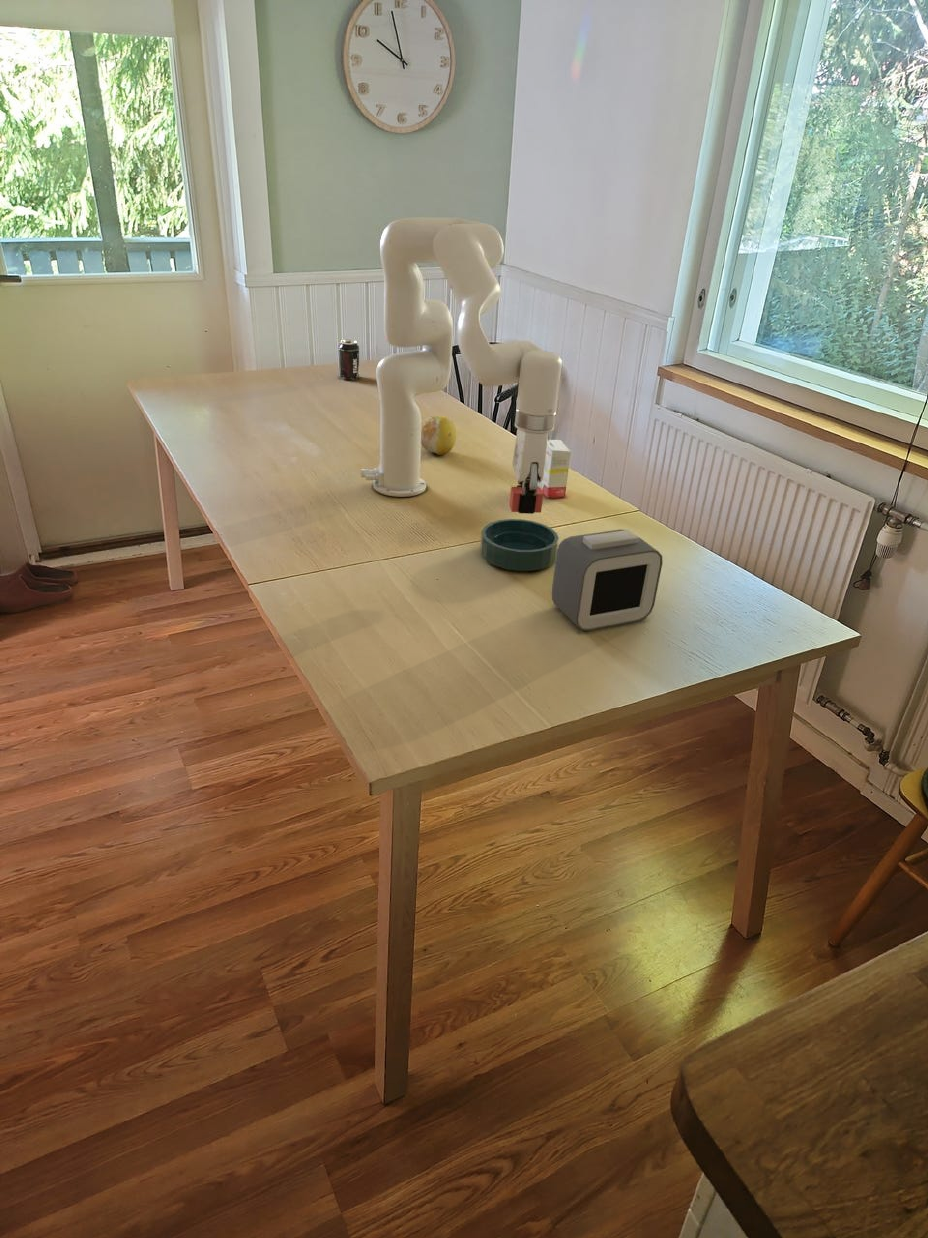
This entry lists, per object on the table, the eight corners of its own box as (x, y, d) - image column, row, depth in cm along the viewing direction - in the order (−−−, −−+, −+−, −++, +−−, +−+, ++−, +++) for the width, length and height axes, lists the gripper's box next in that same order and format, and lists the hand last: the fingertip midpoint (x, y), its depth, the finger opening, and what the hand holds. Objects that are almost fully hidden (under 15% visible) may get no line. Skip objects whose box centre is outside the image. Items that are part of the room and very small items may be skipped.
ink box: (566, 498, 202) (572, 450, 196) (546, 498, 201) (552, 451, 195) (555, 484, 209) (561, 438, 203) (536, 485, 208) (541, 438, 202)
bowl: (484, 573, 166) (485, 551, 163) (477, 539, 179) (478, 518, 177) (561, 575, 167) (564, 552, 165) (548, 541, 181) (551, 519, 178)
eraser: (511, 511, 167) (513, 493, 165) (509, 504, 170) (511, 486, 167) (541, 512, 167) (543, 494, 165) (538, 505, 170) (540, 487, 168)
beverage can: (336, 379, 280) (335, 342, 274) (342, 374, 286) (341, 338, 279) (356, 381, 279) (355, 344, 273) (361, 376, 285) (361, 340, 279)
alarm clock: (574, 633, 148) (586, 554, 140) (544, 603, 157) (553, 527, 149) (651, 619, 154) (666, 542, 146) (618, 590, 163) (630, 516, 155)
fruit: (436, 443, 230) (438, 407, 225) (463, 454, 224) (466, 418, 219) (408, 451, 224) (409, 414, 219) (435, 462, 218) (437, 425, 213)
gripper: (510, 405, 165) (501, 491, 175) (521, 433, 151) (511, 525, 161) (547, 406, 166) (537, 492, 176) (562, 435, 152) (549, 526, 162)
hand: (524, 507), depth 168 cm, fingers closed on eraser, 3 cm apart
